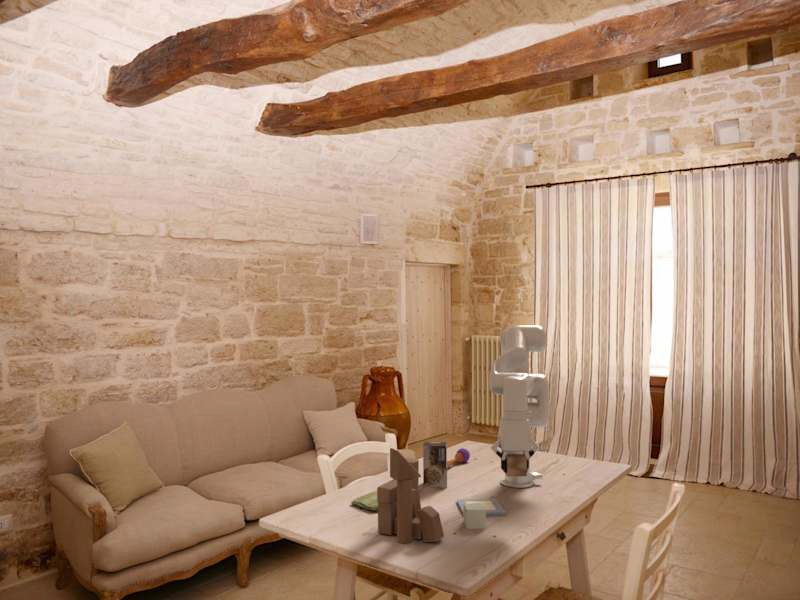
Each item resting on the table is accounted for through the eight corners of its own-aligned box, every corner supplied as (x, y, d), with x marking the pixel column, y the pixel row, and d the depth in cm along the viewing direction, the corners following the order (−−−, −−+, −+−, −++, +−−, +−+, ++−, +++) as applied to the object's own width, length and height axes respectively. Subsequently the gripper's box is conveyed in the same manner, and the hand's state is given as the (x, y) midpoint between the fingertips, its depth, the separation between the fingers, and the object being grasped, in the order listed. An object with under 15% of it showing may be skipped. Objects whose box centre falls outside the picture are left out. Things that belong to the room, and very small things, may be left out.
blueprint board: (495, 501, 226) (495, 498, 226) (505, 515, 212) (505, 512, 212) (456, 502, 225) (456, 499, 225) (463, 516, 211) (463, 513, 211)
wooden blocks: (427, 553, 181) (427, 455, 180) (368, 539, 191) (368, 446, 190) (462, 526, 202) (462, 438, 202) (407, 515, 212) (407, 431, 211)
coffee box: (447, 483, 247) (447, 441, 247) (446, 488, 240) (447, 445, 240) (423, 482, 248) (423, 441, 248) (422, 487, 241) (422, 445, 241)
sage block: (481, 521, 206) (481, 503, 206) (485, 528, 200) (485, 509, 200) (463, 522, 206) (463, 503, 205) (466, 529, 200) (466, 510, 199)
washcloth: (349, 506, 222) (349, 497, 222) (384, 494, 235) (384, 485, 234) (375, 515, 213) (375, 505, 213) (411, 502, 226) (411, 493, 226)
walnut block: (521, 470, 207) (521, 452, 207) (526, 476, 201) (526, 457, 201) (503, 471, 206) (503, 452, 206) (507, 476, 201) (508, 457, 200)
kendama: (435, 460, 266) (459, 446, 282) (438, 474, 266) (461, 460, 282) (447, 459, 262) (470, 446, 279) (450, 474, 262) (473, 459, 279)
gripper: (538, 412, 208) (537, 467, 208) (485, 413, 206) (485, 468, 207) (545, 417, 200) (544, 474, 201) (491, 418, 199) (490, 475, 199)
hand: (514, 470), depth 204 cm, fingers closed on walnut block, 6 cm apart
